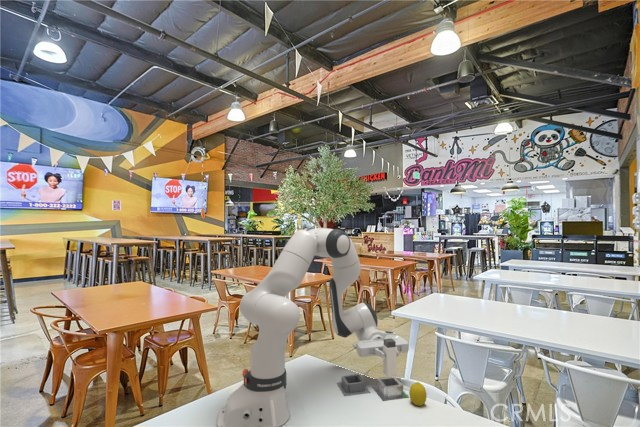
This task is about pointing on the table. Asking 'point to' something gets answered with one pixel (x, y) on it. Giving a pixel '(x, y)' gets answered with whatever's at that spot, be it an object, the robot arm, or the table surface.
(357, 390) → the holster
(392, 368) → the plug
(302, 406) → the table surface
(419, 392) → the lemon
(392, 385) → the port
